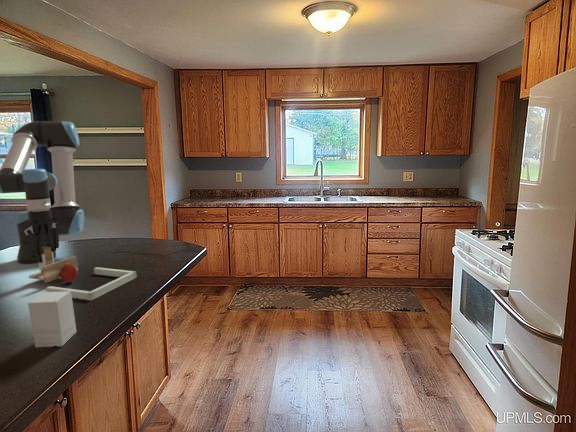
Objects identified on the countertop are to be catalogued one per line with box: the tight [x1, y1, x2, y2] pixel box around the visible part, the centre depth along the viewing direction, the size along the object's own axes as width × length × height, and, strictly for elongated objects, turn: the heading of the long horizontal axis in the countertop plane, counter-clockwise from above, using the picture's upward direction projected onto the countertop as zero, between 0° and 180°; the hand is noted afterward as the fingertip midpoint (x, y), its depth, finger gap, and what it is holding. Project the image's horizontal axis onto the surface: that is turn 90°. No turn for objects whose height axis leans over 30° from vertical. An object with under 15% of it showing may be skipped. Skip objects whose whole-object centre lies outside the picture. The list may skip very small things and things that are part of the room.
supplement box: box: [27, 291, 78, 348], centre depth 97 cm, size 7×7×13 cm
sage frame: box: [46, 266, 138, 301], centre depth 137 cm, size 20×23×2 cm
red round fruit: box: [60, 263, 79, 284], centre depth 139 cm, size 6×6×8 cm
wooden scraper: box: [28, 247, 79, 283], centre depth 141 cm, size 11×14×11 cm
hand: (47, 268), depth 142 cm, fingers closed on wooden scraper, 3 cm apart
